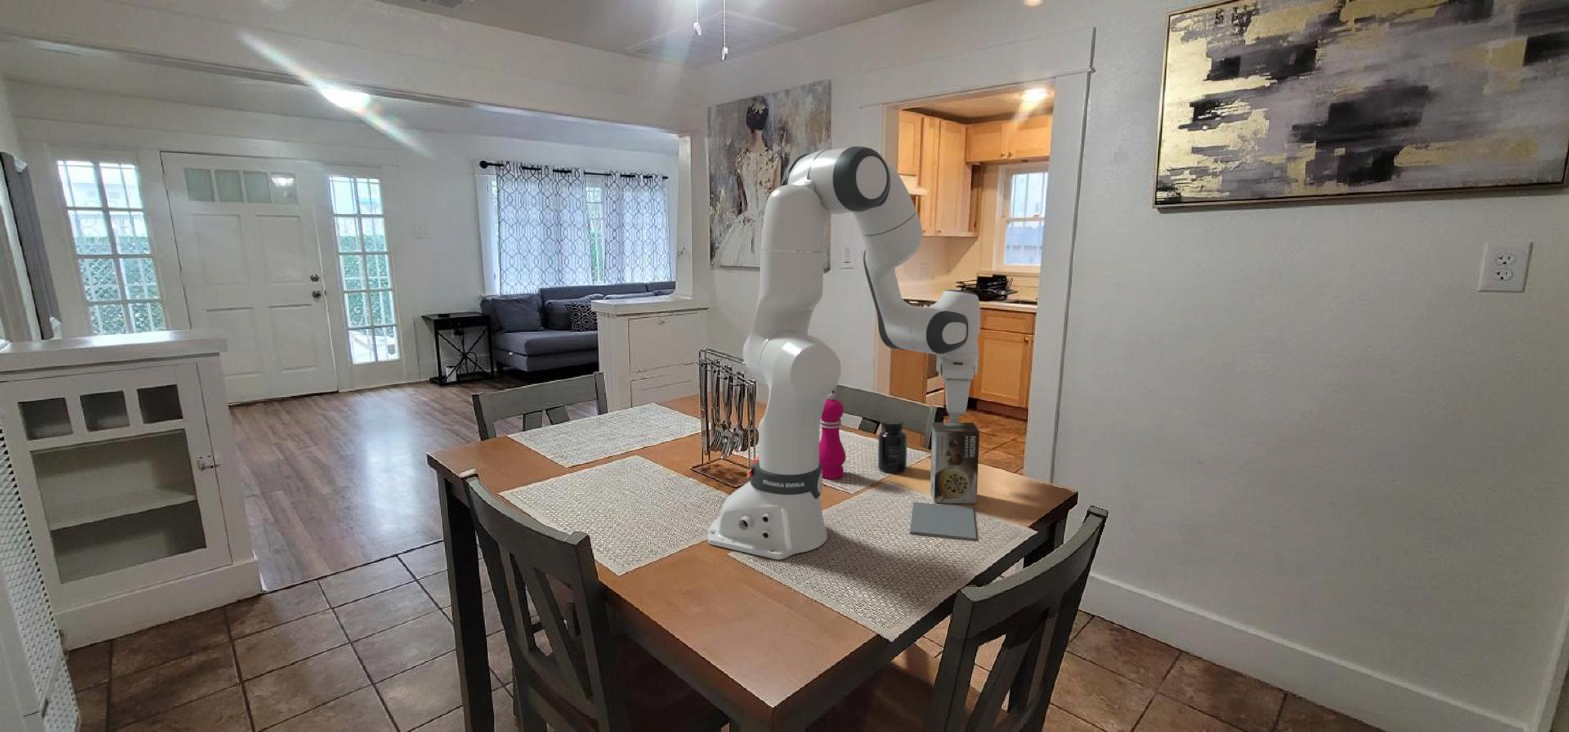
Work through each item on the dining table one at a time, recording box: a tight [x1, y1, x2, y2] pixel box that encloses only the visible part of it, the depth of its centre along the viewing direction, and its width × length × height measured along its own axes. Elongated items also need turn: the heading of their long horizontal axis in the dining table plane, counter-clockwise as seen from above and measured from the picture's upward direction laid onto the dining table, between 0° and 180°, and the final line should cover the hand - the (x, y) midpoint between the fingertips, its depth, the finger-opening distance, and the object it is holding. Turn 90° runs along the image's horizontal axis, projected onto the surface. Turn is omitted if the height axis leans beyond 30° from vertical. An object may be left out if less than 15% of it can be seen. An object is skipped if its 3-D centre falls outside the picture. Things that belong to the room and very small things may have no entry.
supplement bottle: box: [877, 418, 908, 474], centre depth 151 cm, size 7×7×12 cm
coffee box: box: [929, 421, 980, 505], centre depth 133 cm, size 9×6×16 cm
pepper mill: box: [819, 392, 847, 480], centre depth 147 cm, size 7×7×20 cm
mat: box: [909, 501, 977, 541], centre depth 123 cm, size 12×14×1 cm
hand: (954, 424), depth 140 cm, fingers closed
